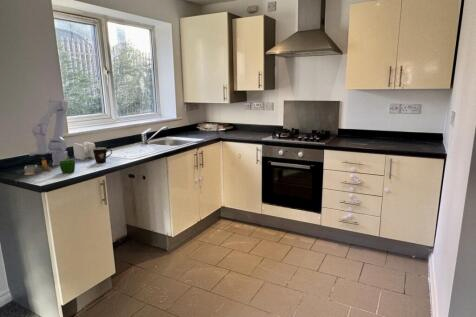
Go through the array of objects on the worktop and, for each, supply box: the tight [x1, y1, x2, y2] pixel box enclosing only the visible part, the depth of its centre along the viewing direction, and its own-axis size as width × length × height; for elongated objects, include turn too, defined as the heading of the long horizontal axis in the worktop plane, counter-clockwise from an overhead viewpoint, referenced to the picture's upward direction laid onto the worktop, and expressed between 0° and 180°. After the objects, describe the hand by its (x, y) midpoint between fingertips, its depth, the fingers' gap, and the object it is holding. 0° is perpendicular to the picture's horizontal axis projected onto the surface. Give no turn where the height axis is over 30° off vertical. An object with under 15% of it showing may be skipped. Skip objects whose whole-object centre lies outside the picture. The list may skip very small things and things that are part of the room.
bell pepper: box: [59, 156, 76, 175], centre depth 196 cm, size 8×8×10 cm
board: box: [23, 166, 53, 176], centre depth 201 cm, size 14×15×1 cm
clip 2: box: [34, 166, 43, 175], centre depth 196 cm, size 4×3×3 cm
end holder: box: [24, 164, 38, 174], centre depth 199 cm, size 6×6×3 cm
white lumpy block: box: [72, 141, 96, 161], centre depth 237 cm, size 15×11×12 cm
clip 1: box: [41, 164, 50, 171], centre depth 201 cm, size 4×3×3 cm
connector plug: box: [41, 157, 47, 169], centre depth 205 cm, size 3×3×7 cm
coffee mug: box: [93, 146, 113, 165], centre depth 224 cm, size 12×9×10 cm
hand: (44, 165), depth 205 cm, fingers closed on connector plug, 3 cm apart
